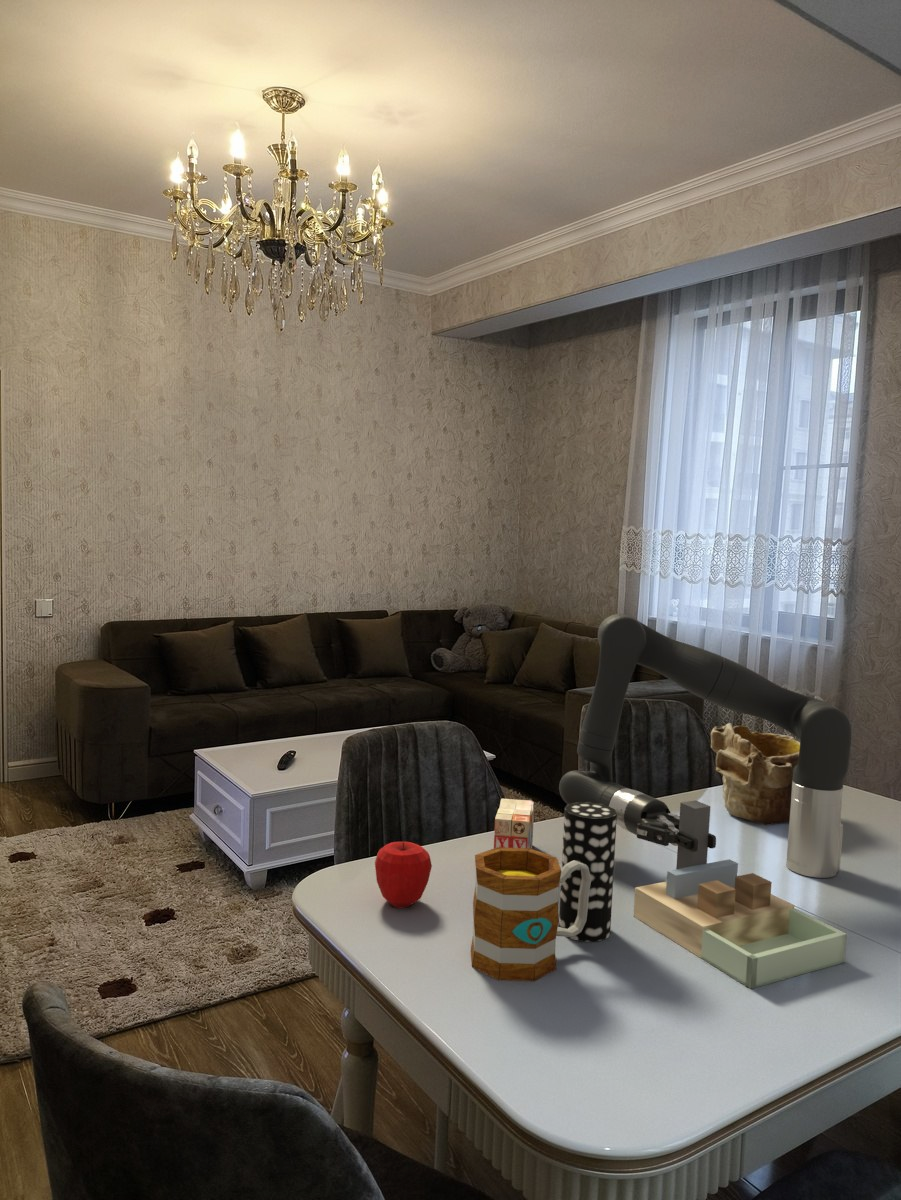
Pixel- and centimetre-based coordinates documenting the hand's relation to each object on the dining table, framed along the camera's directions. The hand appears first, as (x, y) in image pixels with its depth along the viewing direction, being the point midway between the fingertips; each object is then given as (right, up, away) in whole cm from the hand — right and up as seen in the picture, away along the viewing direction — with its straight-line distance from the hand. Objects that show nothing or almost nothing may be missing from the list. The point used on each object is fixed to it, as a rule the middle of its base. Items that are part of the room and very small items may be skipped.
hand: (705, 844), depth 150 cm
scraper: (-2, -8, +3) cm, 8 cm away
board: (+1, -13, -1) cm, 13 cm away
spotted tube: (-21, -13, -5) cm, 25 cm away
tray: (+7, -14, -13) cm, 20 cm away
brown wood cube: (+7, -9, -4) cm, 11 cm away
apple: (-51, -11, +3) cm, 52 cm away
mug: (-31, -13, -15) cm, 36 cm away
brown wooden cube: (-1, -9, -8) cm, 11 cm away
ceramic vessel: (+30, -10, +57) cm, 65 cm away
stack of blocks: (-31, -10, +23) cm, 40 cm away
